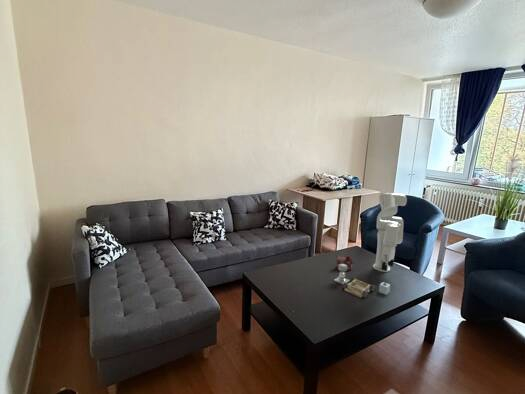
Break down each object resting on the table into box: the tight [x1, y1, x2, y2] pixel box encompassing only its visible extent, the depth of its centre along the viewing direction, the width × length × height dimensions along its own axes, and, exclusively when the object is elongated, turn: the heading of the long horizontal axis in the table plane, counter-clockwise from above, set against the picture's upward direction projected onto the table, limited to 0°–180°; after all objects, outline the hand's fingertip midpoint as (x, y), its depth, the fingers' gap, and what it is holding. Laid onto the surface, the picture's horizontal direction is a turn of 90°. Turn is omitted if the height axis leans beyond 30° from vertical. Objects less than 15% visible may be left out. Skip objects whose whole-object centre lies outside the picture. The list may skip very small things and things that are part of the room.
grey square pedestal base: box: [333, 271, 351, 285], centre depth 197 cm, size 8×8×6 cm
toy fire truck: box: [336, 254, 354, 271], centre depth 216 cm, size 7×12×10 cm, turn 81°
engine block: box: [378, 281, 391, 295], centre depth 184 cm, size 5×5×6 cm
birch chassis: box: [342, 276, 376, 299], centre depth 186 cm, size 16×16×4 cm
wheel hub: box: [337, 264, 348, 272], centre depth 196 cm, size 6×6×3 cm
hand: (387, 267), depth 181 cm, fingers open, 9 cm apart
